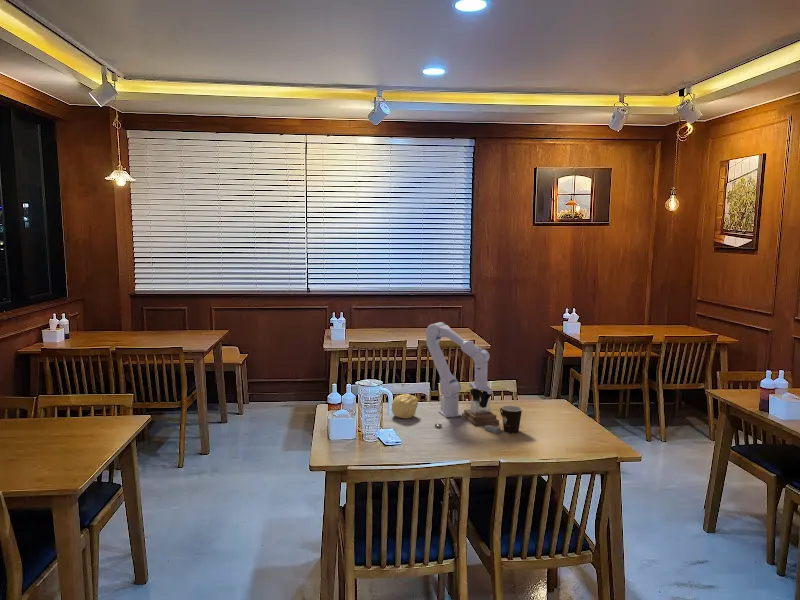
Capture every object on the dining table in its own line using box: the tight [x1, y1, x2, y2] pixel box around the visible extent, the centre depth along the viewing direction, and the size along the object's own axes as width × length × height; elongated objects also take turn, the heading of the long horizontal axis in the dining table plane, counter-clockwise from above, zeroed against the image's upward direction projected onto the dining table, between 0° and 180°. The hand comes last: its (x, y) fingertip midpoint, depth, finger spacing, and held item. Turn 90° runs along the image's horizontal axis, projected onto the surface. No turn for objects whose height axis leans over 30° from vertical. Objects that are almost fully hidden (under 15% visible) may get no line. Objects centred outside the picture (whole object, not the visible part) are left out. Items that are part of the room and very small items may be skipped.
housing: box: [470, 397, 491, 415], centre depth 256 cm, size 4×8×6 cm, turn 119°
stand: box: [461, 408, 500, 427], centre depth 256 cm, size 14×12×4 cm
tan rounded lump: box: [391, 392, 419, 420], centre depth 260 cm, size 12×12×11 cm
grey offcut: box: [484, 424, 502, 434], centre depth 242 cm, size 6×3×2 cm, turn 48°
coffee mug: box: [499, 405, 523, 434], centre depth 243 cm, size 12×9×10 cm
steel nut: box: [434, 423, 443, 429], centre depth 246 cm, size 3×3×1 cm
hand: (480, 405), depth 256 cm, fingers open, 5 cm apart
